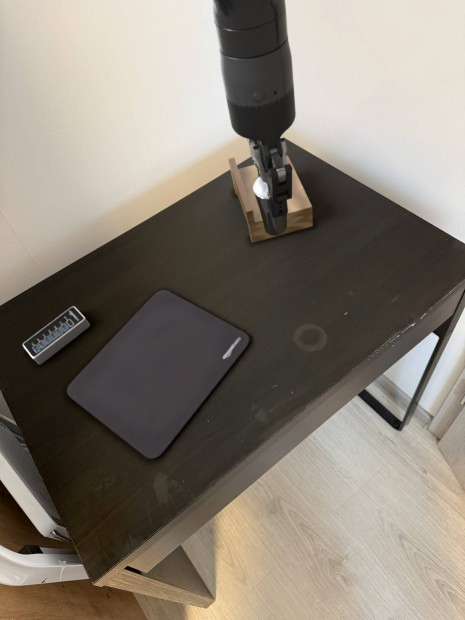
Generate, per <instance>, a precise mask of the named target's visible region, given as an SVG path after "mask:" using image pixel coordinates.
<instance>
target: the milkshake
mask: <svg viewBox="0 0 465 620" xmlns="http://www.w3.org/2000/svg"><path fill="white" fill-rule="evenodd" d="M253 190H254V193H255V197H256V200H257V203H258V206H259V209H260V213H261V217H262V220H263V224H264V228H265V232H266V233H268V234H269V235H272V236H275V237H278V235H279V236H281V235H280V234H282V235H284V234H283V233H284V232H285V230H286V229H287V214H286V215H283V216H280V217H276V218H273V217H272V215H271V211H270V204H269V197H268V196H267V188H266V183H265V182H263V181H262V179H261V178H260V177H259V178H258V179H257V180H256V181H255V183H254V185H253Z"/></svg>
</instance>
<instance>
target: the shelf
mask: <svg viewBox="0 0 465 620" xmlns="http://www.w3.org/2000/svg"><path fill="white" fill-rule="evenodd" d="M286 159H287V164H289V163H290V165H291V166H292V169H293V170H292V199H288V200H287V206H288V213H287V229H286V230H285V232H284V233H283V234H280V235H278V236H282V235H285V234H291V233H294V232H296V231H297V232H298V231H301V230H304V229H307V228H311V227H314V218H313V217H314V215H313V206H312V203H311V201H310V199H309V197H308V195H307V193H306V190H305V188H304V186H303V184H302V182H301V180H300V178H299V176H298V174H297V172H296V170H295V167H294V165H293V163H292V161H291V159H290V157H289V155H286ZM227 160H228V166H229V170H230V175H231V180H232V184H233V189H234V192H235V195H237V197H238V200H239V202H240V205H241V208H242V211H243V214H244V217H245V221H246V223H247V227H248V232H249V237H250V240H251V243H252V244H253V243H257V242H260V241H264V240H267V239H268V240H269V239H272V238H275V237H276V236H272V235H269V234H268V233H266V232H265V228H264V224H263V220H262V217H261V213H260V209H259V206H258V203H257V200H256V197H255V193H254V190H253V185H254V183H255V181H256V180H257V179H258V178H259V177H258V171H257V169H258V168H256V166H255V165H254V164H252V165H248V166H245V167H240V168H238V164H237V162H236V159H235V157H230V158H227ZM278 236H277V237H278Z"/></svg>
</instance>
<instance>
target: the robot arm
mask: <svg viewBox="0 0 465 620" xmlns="http://www.w3.org/2000/svg"><path fill="white" fill-rule="evenodd" d="M210 1H211V11H212V16H213V17H212V19H213V23H214V28H215V34H216V39H217V45H218V50H219V63H220V65H219V66H220V72H221V78H222V83H223V90H224V94H225V99H226V104H227V105H226V106H227V110H228V114H229V120H230V126H231V128H232V130H233V131H234V132H235V134H237V135H238V136H240V137H241V138H244V139H246V140H247V143H248V147H249V154H250V156H251V160H252V161H254V162H253V165H255V166H256V168H258V169H257V171H258V177H260V178H261V179H262V181H263V182H265V183H266V188H267V196H268V197H269V204H270V211H271V215H272V217H273V218H276V217H280V216H283V215H286V214H287V213H288V206H287V200H288V199H292V170H293V169H292V166H291V165H290V163H289V164H287V159H286V156H287V152H288V148H287V142H286V138H285V136H283V135H284V133H285V132H286V131H287V130H289V129H290V128H291V127H292V126H293V124H294V122H295V119H296V115H297V112H296V98H295V97H296V96H295V83H294V69H293V57H292V56H293V55H292V51H291V47H290V41H289V32H288V18H287V7H286V6H287V4H286V0H210Z"/></svg>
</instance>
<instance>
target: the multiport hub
mask: <svg viewBox="0 0 465 620" xmlns="http://www.w3.org/2000/svg"><path fill="white" fill-rule="evenodd" d="M90 326H91V324H90V322H89V321H88V320H87V318H86V317H85V316H84V315H83V314H82V312H80V310H79V309H78V308H77V307H76V306H75V305H73V306H71V307H69V308H68V309H67V310H65V311H64V312H63V313H61V314H60V315H59V316H57V317H56V318H55V319H54V320H52V321H51V322H49V323H48V324H47V325H46V326H43V328H41V329H40V330H38V331H37V332H36V333H35V334H33V335H32V336H30V337H29V338H28V339H27V340H26V341H24V342H23V343H22V347H23V349H24V350H25V351H26V352H27V353H28V355H29V356H30V357H31V358H32V360H34V361H35V362H36V363H37V364H38V365H42V364H43V363H45V362H46V361H47V360H49V359H50V358H51V357H53V356H54V355H55V354H56V353H58V352H59V351H60V350H62V349H63V348H64V347H66V346H67V345H68V344H69V343H70V342H72V341H73V340H74V339H76V338H77V337H78V336H80V335H81V334H82V333H83V332H85V331H86V330H87V329H88V328H90Z"/></svg>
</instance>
